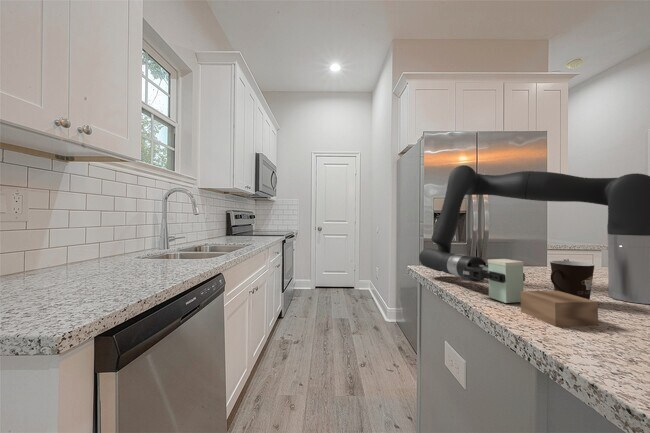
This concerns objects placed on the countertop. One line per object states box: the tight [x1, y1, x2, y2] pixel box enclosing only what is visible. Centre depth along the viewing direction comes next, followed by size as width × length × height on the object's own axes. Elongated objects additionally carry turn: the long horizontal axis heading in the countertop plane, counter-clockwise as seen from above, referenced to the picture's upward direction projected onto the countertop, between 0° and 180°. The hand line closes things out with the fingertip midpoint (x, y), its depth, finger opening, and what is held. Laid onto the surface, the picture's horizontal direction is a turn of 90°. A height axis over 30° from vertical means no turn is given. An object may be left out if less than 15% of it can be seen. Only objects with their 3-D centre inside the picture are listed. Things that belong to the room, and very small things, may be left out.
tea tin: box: [487, 258, 525, 304], centre depth 72 cm, size 6×6×10 cm
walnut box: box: [520, 290, 599, 328], centre depth 59 cm, size 9×9×5 cm
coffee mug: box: [549, 260, 595, 300], centre depth 72 cm, size 12×9×10 cm
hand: (514, 278), depth 70 cm, fingers closed on tea tin, 5 cm apart
